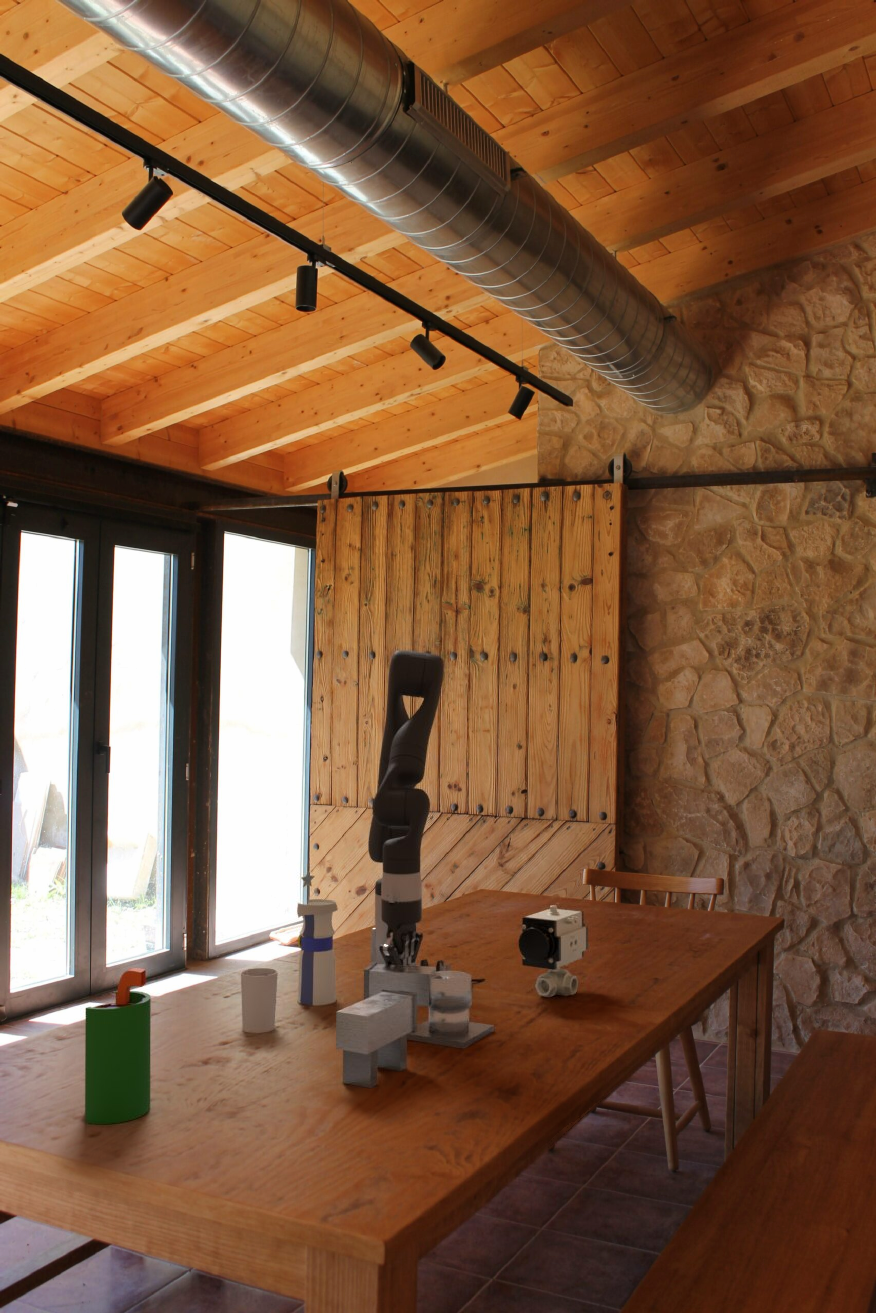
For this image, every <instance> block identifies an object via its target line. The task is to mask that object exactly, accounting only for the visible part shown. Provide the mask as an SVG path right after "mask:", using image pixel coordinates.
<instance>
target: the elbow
mask: <svg viewBox="0 0 876 1313" xmlns="http://www.w3.org/2000/svg"><path fill="white" fill-rule="evenodd" d="M471 979H472V974H470V973H468V972H466V971H461V970H450V971H445V970H444V971H436V966H428V967H426V966H420V965H416V966H406V965H386V964H377V962H372V963H371V962H370V963H369V965H368V966H366V967H365V968H364V969H363V1000H365V999H367V998H370V997H372V996H374V995H377V994H379V993H381V992H382V989H384V988H385V989H392V990H399V991H406V992H413V993H417V1007H428V1008H429V1007H430V1008H432V1009H437V1010H462V1009H466V1008H469V1009H470V1007H471V1006H472V982H471Z"/></svg>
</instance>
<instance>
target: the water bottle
mask: <svg viewBox="0 0 876 1313" xmlns="http://www.w3.org/2000/svg"><path fill="white" fill-rule="evenodd" d="M309 871H310V870H309ZM309 871H308V870H307V872H306V875H304V876H301V877H300V878H301V880H302V881H303V885H302V888H305V887H306V886H309V887H312V880H313V879H314V878H315V875H311V874H310V872H309ZM337 911H338V904H337V901H336V900H333V899H332V900H331V899H322V898H320V899H319V898H313V899H308V900H307V904H304V903H303V904H302V903H300V902H297V908H296V913H297V914H296V915H297V917H298V919H299V918H300V917H302V921H303V923H302V927H301V929H300V931H299V935H298V937H297V945H298V948H299V949H300V951H299V956H298V980H297V981H298V982H297V997H296V998H297V999H296V1000H297V1001H296V1002H297V1003H299V1004H301V1005H304V1006H327V1005H331V1004H333V1003H336V1001H337V991H336V989H337V988H336V956H335V955H336V954H335V950H334V940H333V939H334V938H333V937H334V935H335V933H336V931H335V930H334V928H333V923H332V922H333V914H334V913H335V912H337Z"/></svg>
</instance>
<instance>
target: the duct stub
mask: <svg viewBox="0 0 876 1313" xmlns="http://www.w3.org/2000/svg"><path fill="white" fill-rule="evenodd" d="M493 1032H495V1025H494V1024H488V1023H481V1022H474V1021H470V1007H469V1008H466V1009H462V1010H437V1009H432V1008H430V1007H428V1019H427V1020H425V1021H423V1022H422V1023H419V1024H417V1032H416V1033H411V1032H410V1033H408V1034H407V1040H409V1041H414V1042H422V1043H426V1044H431V1045H437V1046H445V1047H452V1048H456V1049H466V1048H467V1047H468V1048H469V1047H470V1046H471V1045H472V1044H474V1043H476V1042H478V1041H479V1040H481V1039H483V1038H484V1037H486V1036H487V1035H489V1034H491V1033H493Z"/></svg>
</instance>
